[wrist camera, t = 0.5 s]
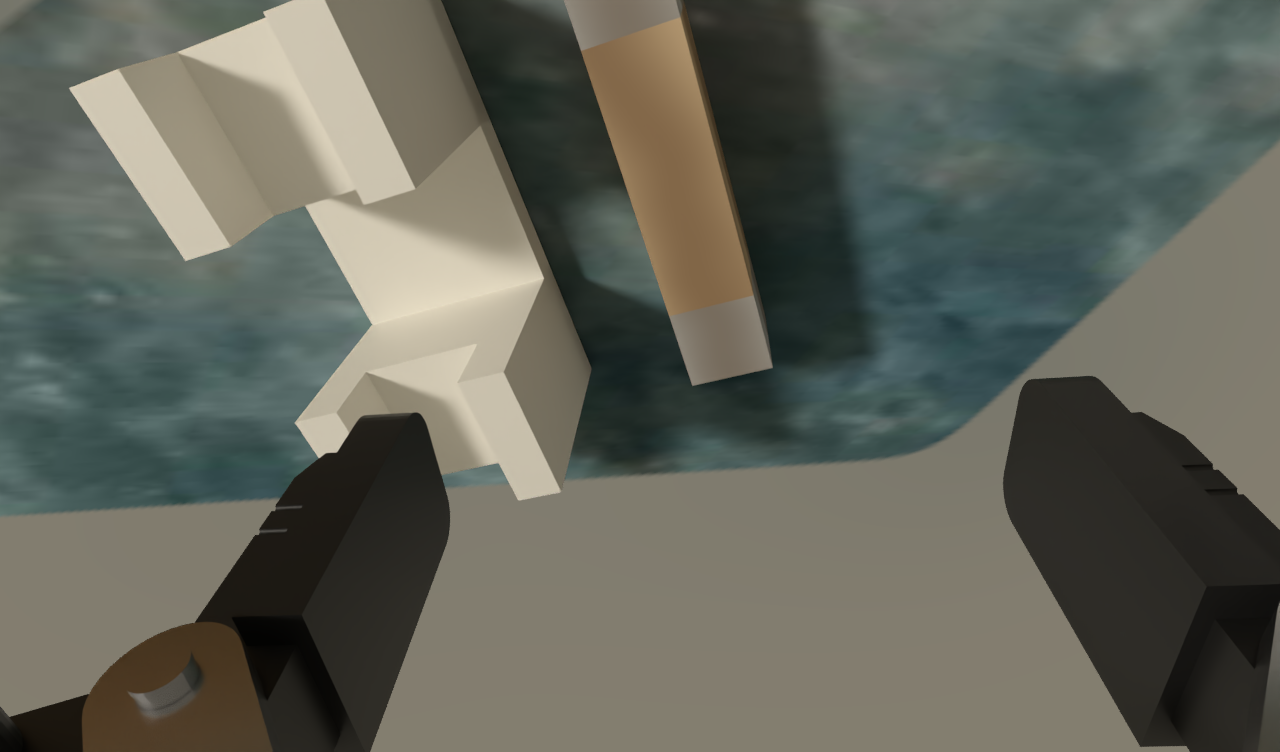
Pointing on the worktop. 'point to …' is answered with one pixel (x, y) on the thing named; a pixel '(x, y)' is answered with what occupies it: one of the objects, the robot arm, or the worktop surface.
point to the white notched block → (370, 216)
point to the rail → (676, 179)
